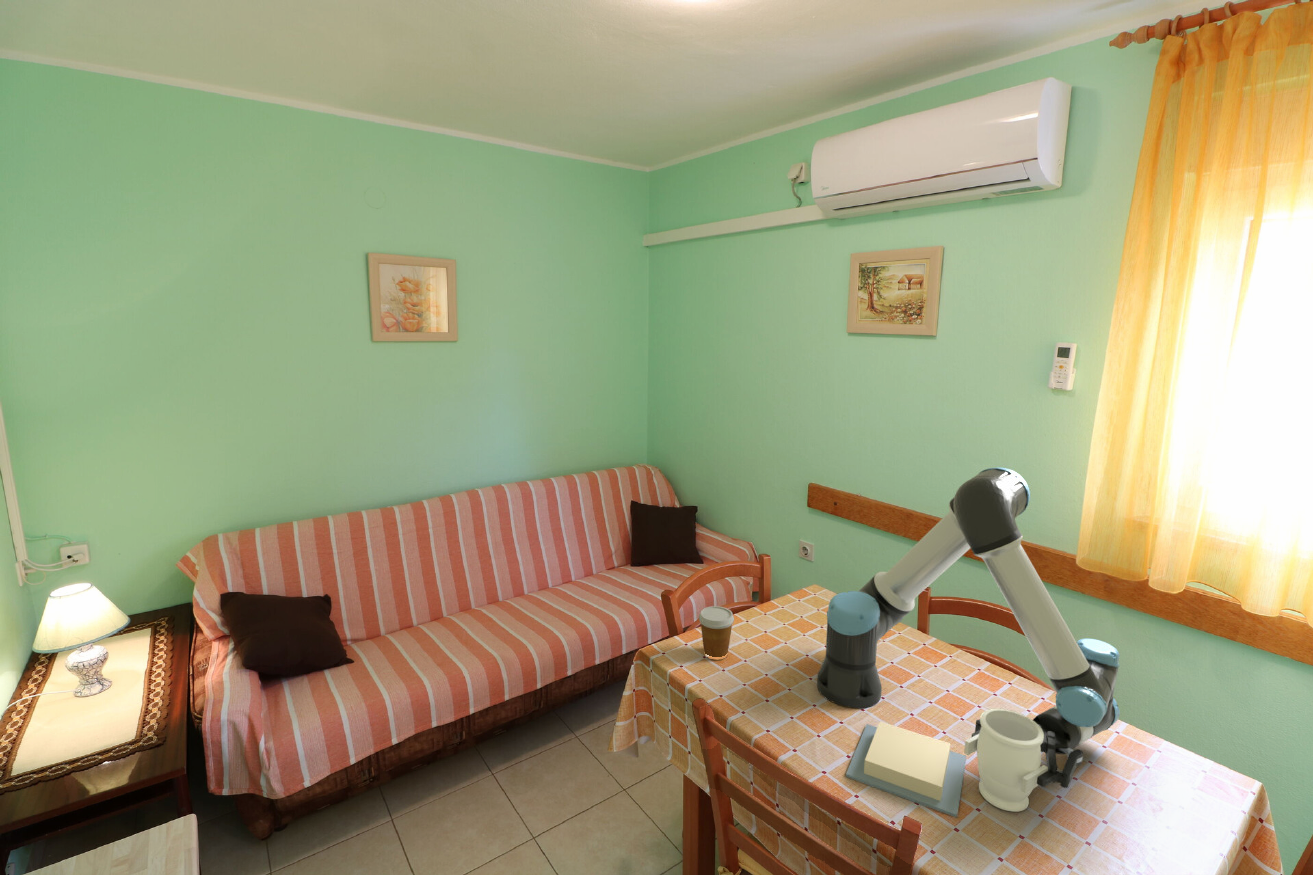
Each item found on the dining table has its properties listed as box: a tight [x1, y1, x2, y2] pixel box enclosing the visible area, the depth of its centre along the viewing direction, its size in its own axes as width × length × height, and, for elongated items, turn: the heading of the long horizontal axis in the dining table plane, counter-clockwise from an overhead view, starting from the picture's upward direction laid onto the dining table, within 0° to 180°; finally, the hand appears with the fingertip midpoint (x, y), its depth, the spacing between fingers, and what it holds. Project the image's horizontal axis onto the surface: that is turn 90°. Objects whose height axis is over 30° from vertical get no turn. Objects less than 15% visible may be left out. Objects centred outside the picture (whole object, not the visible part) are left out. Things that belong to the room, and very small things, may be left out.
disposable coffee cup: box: [698, 605, 735, 657], centre depth 166 cm, size 10×10×12 cm
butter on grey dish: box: [845, 720, 967, 818], centre depth 124 cm, size 20×18×4 cm
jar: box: [976, 708, 1044, 813], centre depth 116 cm, size 11×10×15 cm
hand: (994, 765), depth 113 cm, fingers closed on jar, 10 cm apart
